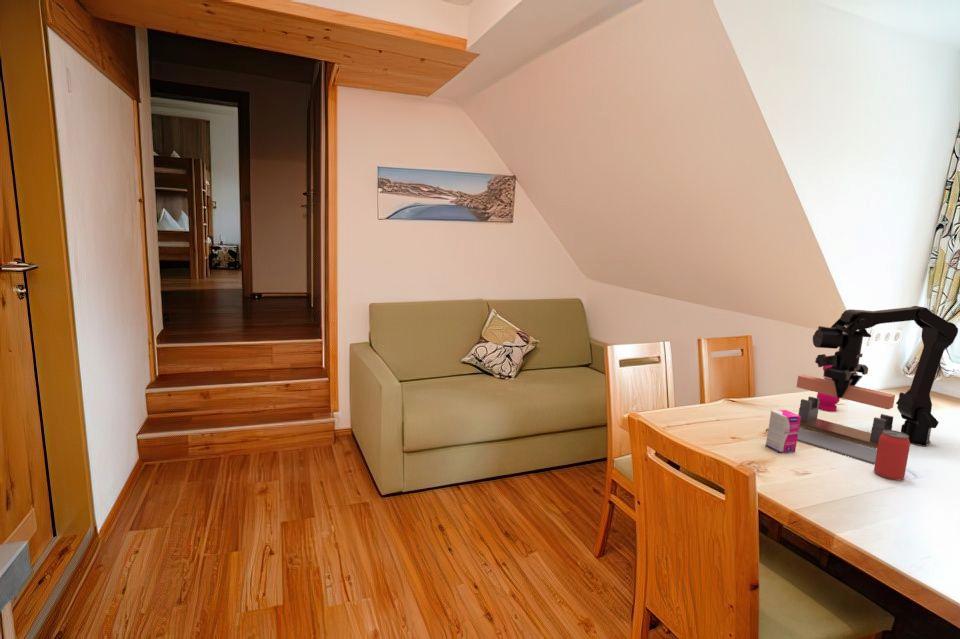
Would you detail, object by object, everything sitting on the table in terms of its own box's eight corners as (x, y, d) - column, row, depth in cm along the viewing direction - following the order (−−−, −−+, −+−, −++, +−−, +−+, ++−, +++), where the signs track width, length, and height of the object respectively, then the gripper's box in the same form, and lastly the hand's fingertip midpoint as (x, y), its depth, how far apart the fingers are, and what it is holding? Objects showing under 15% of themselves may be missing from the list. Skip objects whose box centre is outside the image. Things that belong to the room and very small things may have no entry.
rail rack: (898, 445, 166) (902, 417, 164) (887, 451, 160) (892, 423, 158) (802, 418, 188) (805, 394, 186) (789, 423, 182) (792, 398, 180)
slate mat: (887, 455, 157) (888, 453, 157) (873, 464, 150) (873, 462, 150) (782, 424, 181) (782, 422, 181) (765, 431, 174) (765, 429, 174)
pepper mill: (841, 412, 196) (849, 360, 193) (819, 411, 197) (827, 359, 194) (832, 407, 203) (840, 356, 200) (812, 405, 204) (819, 354, 201)
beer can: (874, 467, 148) (881, 427, 146) (904, 475, 144) (911, 433, 142) (872, 475, 143) (879, 433, 141) (903, 483, 138) (911, 440, 137)
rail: (893, 407, 160) (895, 394, 160) (888, 409, 158) (890, 396, 157) (801, 385, 181) (803, 374, 180) (796, 387, 179) (798, 375, 178)
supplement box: (780, 453, 155) (785, 416, 153) (764, 446, 161) (769, 410, 159) (796, 452, 157) (801, 415, 155) (780, 444, 162) (785, 409, 160)
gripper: (833, 342, 179) (826, 386, 181) (809, 347, 168) (802, 394, 171) (872, 348, 170) (864, 395, 173) (849, 354, 159) (841, 403, 162)
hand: (842, 396), depth 170 cm, fingers closed on rail, 4 cm apart
